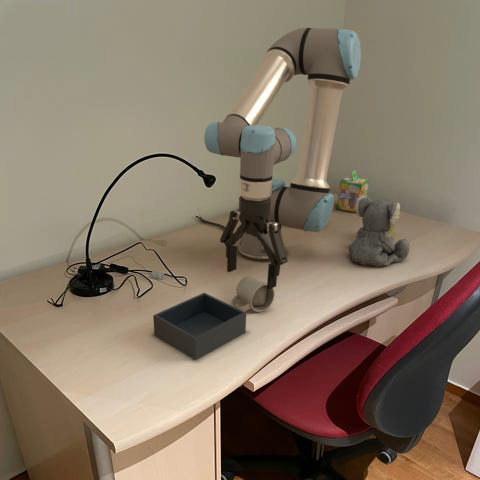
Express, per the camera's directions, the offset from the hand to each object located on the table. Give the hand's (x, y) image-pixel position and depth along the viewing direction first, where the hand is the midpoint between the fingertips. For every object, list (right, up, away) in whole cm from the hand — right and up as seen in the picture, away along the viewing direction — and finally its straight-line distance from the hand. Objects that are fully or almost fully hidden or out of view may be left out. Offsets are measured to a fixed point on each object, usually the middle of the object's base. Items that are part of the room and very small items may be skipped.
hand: (251, 278), depth 132 cm
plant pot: (+47, +18, +50) cm, 71 cm away
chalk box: (+42, +34, +77) cm, 94 cm away
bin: (-12, -14, -8) cm, 20 cm away
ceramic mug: (0, -7, +5) cm, 9 cm away
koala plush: (+40, +9, +34) cm, 53 cm away
